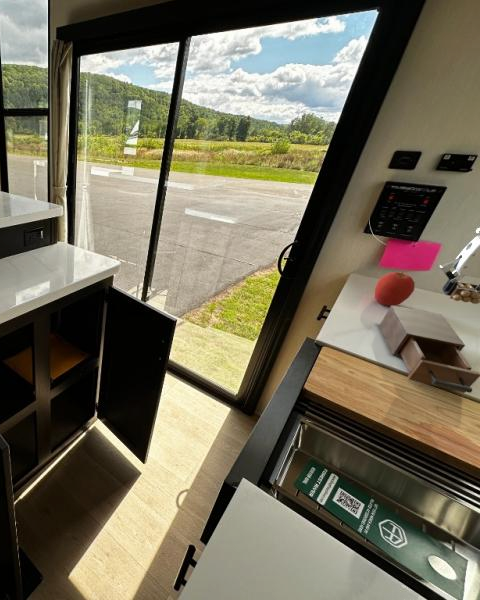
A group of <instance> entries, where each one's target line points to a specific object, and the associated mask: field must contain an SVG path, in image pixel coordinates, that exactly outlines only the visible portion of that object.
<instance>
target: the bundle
mask: <svg viewBox="0 0 480 600" xmlns="http://www.w3.org/2000/svg"><path fill="white" fill-rule="evenodd" d="M457 283H458V285H457V287H456V288H455V290H454V291H453V292H452V294H451V295H449V298H450V299H451V300H453V301H456V302H460V301H461V302H463V303H471V304H473V305H478V304H480V291H477V290H476V288H477V287H478V286H479V284H478V283H472V282H468V281H460V280H459V281H457Z"/></svg>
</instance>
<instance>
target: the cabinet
mask: <svg viewBox="0 0 480 600" xmlns="http://www.w3.org/2000/svg"><path fill="white" fill-rule="evenodd" d="M378 327H379V329H380V331H381V333H382V335H383V338H384V340H385V342H386V344H387V347H388V349H389V351H390V353H391V355H392V356H395V357H399V358H402V357H401V355H400V353H399V350H400V349H401V347H402V346H403V344H404V343H405V341H406V340H407V338H408V337H409V336H410V337H415V338H420V339H425V340H430V341H435V342H440V343H444V344H449V345H454V346H456V347H457V348H458V350H459V351H460V352H461V351H462V350H463V349H464V348H465V347H466V344H465V343H464V341H463V340H462V339H461V337H460V336H459V335H458V334H457V332H456V331H455V330H454V328H453V327H452V326H451V324H450V323H449V322H448V320H447V319H446V318H445V316H444V315H443V314H442V313H437V312H432V311H425V310H420V309H414V308H408V307H403V306H399V305H394V306H392V305H391V306H389V308H388V310H387V311H386V313H385V315H384V316H383V318H382V319H381V321H380V323H379V325H378Z"/></svg>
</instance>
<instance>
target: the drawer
mask: <svg viewBox="0 0 480 600" xmlns="http://www.w3.org/2000/svg"><path fill="white" fill-rule="evenodd" d="M399 353H400V355H401V357H400V358H401V359H402V361H403V363H404V365H405V367H406V369H407V371H408V373H409V374H408V375H407V379H408V380H409V381H414V382H417V383H420V384H425V385H429V386H434V387H438V388H442V389H445V390H449V391H450V390H451V391H454V392H458V393H462V394H465V393H469V394H471V393H472V392H473V388H472V387H471V386H472V385H474V384H475V382H476V381H477V380H478V379H479V378H480V371H476V370H472V369H473V368H472V367H471V365H470V363H469V362H468V361H467V360H466V358H465V357H464V355H463V354H462V352H461V351H459V350H458V348H457V347H456V346H454V345H449V344H444V343H440V342H435V341H430V340H425V339H420V338H415V337H410V336H409V337H408V338H407V340H406V341H405V343H404V344H403V346H402V347H401V349H400V350H399Z"/></svg>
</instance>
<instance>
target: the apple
mask: <svg viewBox="0 0 480 600" xmlns="http://www.w3.org/2000/svg"><path fill="white" fill-rule="evenodd" d="M415 284H416V283H415V281H414V279H413V277H412V276H410V275H408V274H406V273H404V271H402V272H396V271H394V272H393V271H392V272H389V273H387V274H384V275H383V276H382V277H380V278H379V279H378V281H377V283H376V285H375V288H374V299H375V300H376V301H377V303H379V304H380V305H383V306H387V307H391V305H392V306H399V305H401V304H402V303H404V302H405V301H406V300H408V299H409V298H410V296H411V295H412V294H413V293H414V292H415V286H416V285H415Z"/></svg>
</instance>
